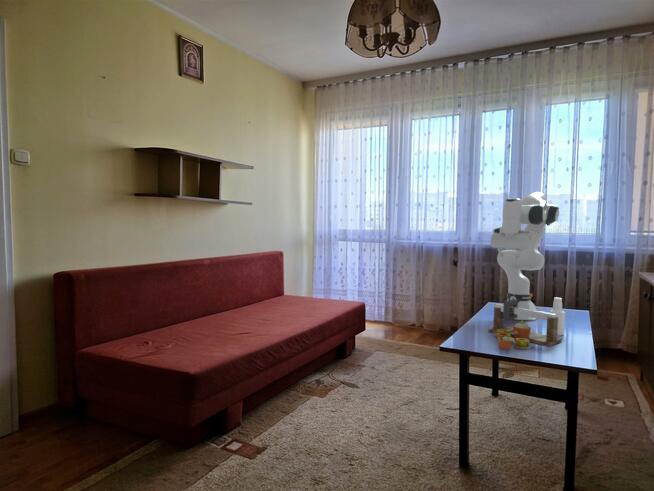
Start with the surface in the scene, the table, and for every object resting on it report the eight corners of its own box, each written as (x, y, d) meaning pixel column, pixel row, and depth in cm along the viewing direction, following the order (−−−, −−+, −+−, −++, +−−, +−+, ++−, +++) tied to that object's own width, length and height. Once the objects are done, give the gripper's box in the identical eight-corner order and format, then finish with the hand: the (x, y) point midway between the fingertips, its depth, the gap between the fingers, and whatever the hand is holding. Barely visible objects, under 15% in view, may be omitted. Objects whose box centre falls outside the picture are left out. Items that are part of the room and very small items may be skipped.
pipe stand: (488, 331, 210) (489, 304, 209) (500, 328, 218) (501, 301, 217) (549, 346, 187) (551, 316, 186) (561, 342, 194) (563, 312, 193)
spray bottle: (551, 331, 213) (552, 296, 212) (565, 333, 209) (567, 298, 207) (546, 333, 209) (548, 297, 207) (561, 336, 204) (563, 299, 203)
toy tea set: (494, 334, 206) (494, 315, 206) (528, 338, 201) (529, 318, 200) (494, 350, 182) (495, 328, 181) (534, 354, 176) (535, 332, 176)
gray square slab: (503, 319, 205) (503, 301, 205) (512, 316, 211) (513, 299, 210) (507, 320, 203) (508, 301, 203) (517, 317, 209) (518, 299, 208)
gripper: (535, 230, 206) (533, 258, 207) (496, 229, 222) (495, 255, 223) (528, 230, 203) (527, 259, 203) (489, 229, 219) (488, 256, 219)
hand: (510, 257), depth 214 cm, fingers open, 8 cm apart
